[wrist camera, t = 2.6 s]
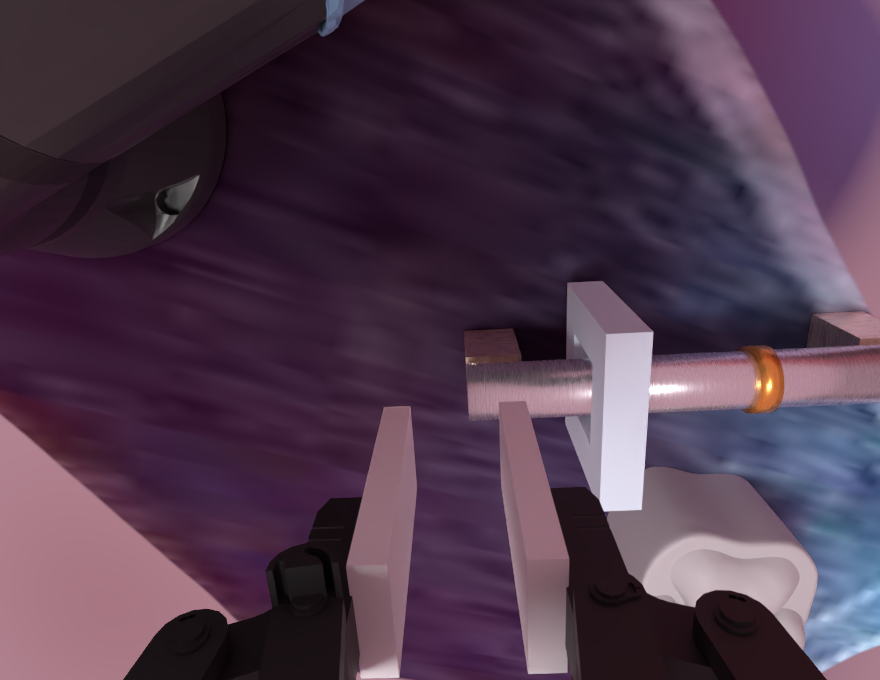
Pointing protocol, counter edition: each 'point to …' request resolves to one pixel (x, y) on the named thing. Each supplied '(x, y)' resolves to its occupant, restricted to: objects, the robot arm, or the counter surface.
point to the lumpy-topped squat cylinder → (714, 545)
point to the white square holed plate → (610, 393)
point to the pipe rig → (689, 374)
